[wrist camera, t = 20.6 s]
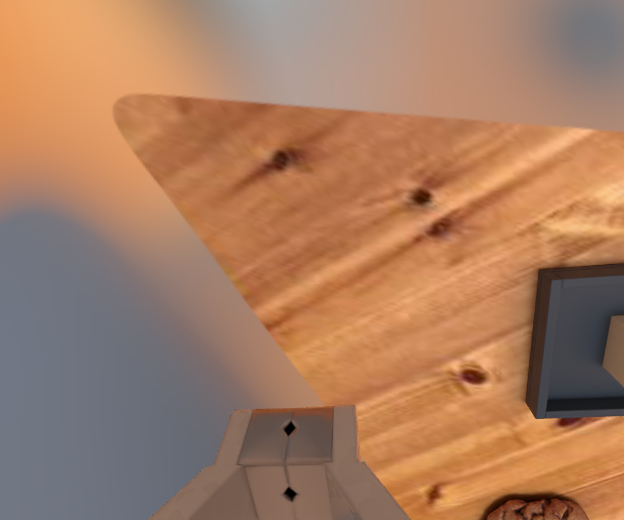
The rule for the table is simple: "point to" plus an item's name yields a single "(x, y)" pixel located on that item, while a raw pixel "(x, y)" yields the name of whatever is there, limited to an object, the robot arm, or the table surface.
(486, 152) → the table surface
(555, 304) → the backing tray
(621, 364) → the beige rectangular block
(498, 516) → the cookie
